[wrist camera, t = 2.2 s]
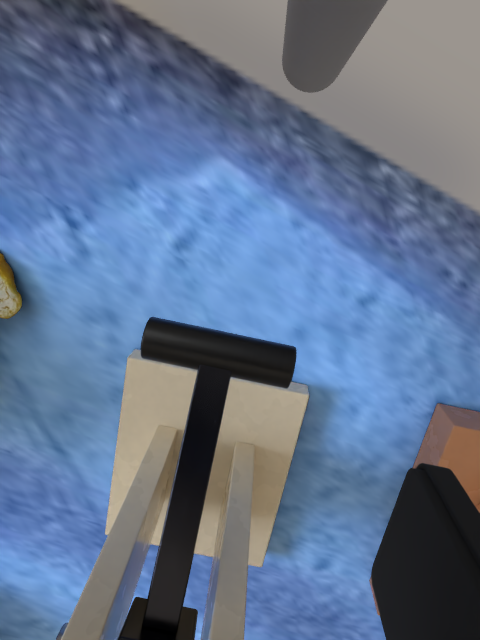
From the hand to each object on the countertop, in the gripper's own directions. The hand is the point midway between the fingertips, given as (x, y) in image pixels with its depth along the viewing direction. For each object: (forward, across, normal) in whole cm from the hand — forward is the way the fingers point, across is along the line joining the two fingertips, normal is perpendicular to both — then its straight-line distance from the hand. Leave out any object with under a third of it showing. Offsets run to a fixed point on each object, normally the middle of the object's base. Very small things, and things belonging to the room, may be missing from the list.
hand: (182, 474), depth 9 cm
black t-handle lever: (+5, 0, +5) cm, 7 cm away
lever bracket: (+13, 0, +8) cm, 15 cm away
